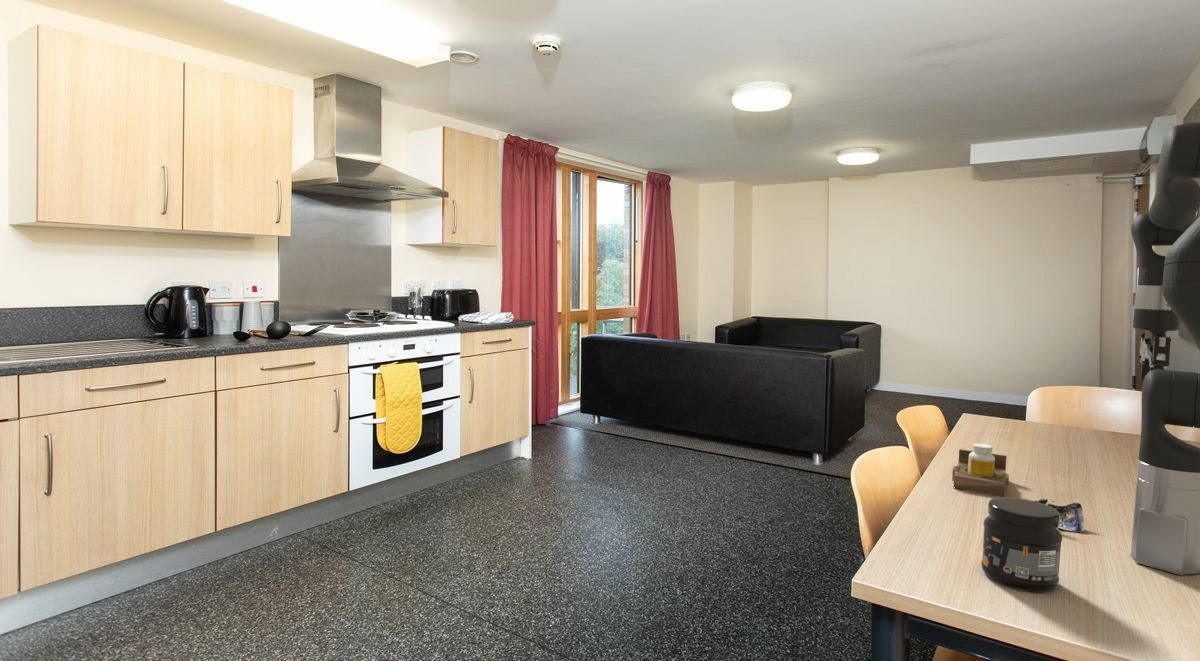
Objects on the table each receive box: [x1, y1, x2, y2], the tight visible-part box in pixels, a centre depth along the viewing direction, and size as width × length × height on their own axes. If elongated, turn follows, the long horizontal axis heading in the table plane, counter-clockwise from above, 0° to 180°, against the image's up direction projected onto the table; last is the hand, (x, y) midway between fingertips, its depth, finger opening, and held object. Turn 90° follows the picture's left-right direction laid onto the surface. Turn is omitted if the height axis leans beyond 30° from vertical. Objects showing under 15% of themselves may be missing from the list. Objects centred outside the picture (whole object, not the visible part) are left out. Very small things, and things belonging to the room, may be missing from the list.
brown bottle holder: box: [951, 448, 1010, 497], centre depth 151 cm, size 15×11×6 cm
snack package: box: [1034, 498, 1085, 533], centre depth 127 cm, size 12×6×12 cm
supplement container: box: [980, 496, 1063, 593], centre depth 101 cm, size 10×10×12 cm
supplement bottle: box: [968, 442, 995, 476], centre depth 150 cm, size 5×5×10 cm
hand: (1151, 383), depth 134 cm, fingers open, 8 cm apart
